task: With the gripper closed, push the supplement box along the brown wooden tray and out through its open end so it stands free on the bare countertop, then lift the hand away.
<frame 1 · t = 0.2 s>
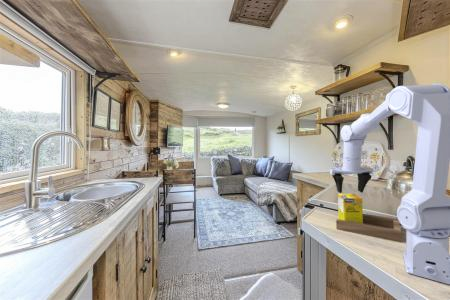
hand: (349, 191, 77), 10 cm above the counter, tool pointing down, fingers open, 7 cm apart
brown wooden tray: (369, 228, 68), on the counter
supplement box: (350, 225, 72), resting in brown wooden tray
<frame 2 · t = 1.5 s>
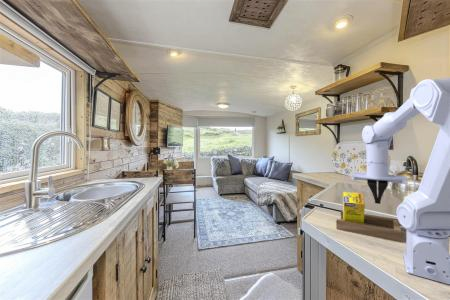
hand: (377, 202, 66), 10 cm above the counter, tool pointing down, fingers closed
supplement box: (353, 222, 72), point 1 cm above the counter, touching brown wooden tray
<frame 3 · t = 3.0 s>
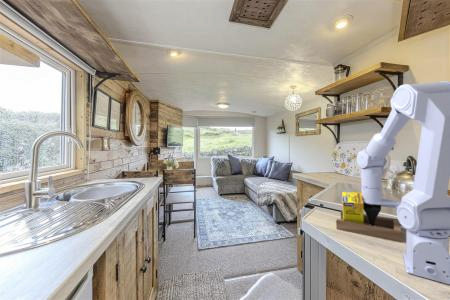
hand: (372, 225, 68), 1 cm above the counter, tool pointing down, fingers closed
supplement box: (352, 222, 72), point 1 cm above the counter, touching gripper
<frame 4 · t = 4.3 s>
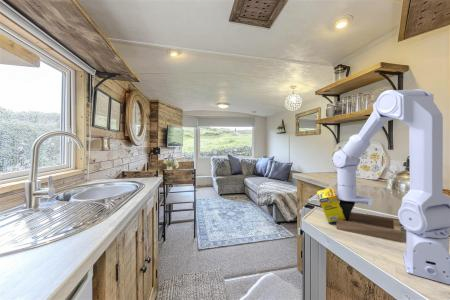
hand: (347, 221, 72), 1 cm above the counter, tool pointing down, fingers closed, pressing on supplement box
supplement box: (336, 218, 75), point 1 cm above the counter, touching gripper
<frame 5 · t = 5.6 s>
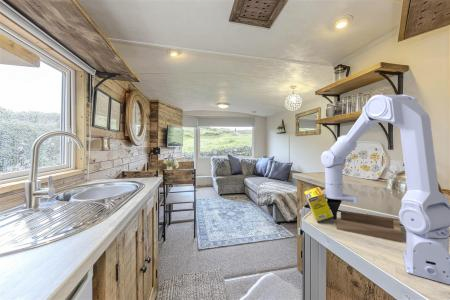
hand: (334, 218, 75), 1 cm above the counter, tool pointing down, fingers closed, pressing on supplement box
supplement box: (323, 216, 77), point 1 cm above the counter, touching gripper
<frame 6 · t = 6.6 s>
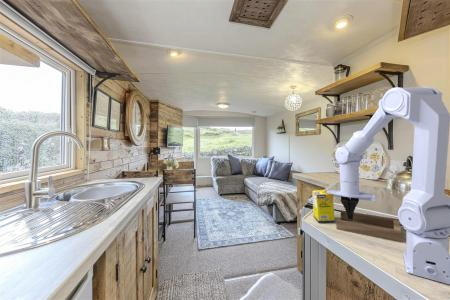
hand: (350, 218, 71), 3 cm above the counter, tool pointing down, fingers closed
supplement box: (323, 220, 78), on the counter
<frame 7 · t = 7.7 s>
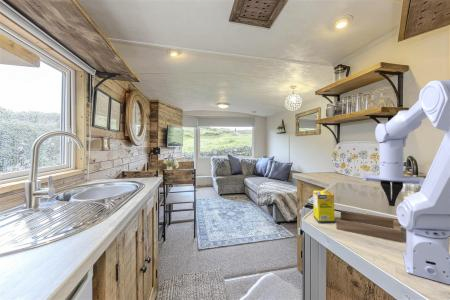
hand: (391, 205, 62), 10 cm above the counter, tool pointing down, fingers closed
nothing on the counter moved.
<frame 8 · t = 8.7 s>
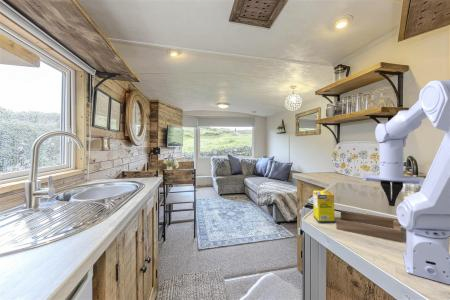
hand: (391, 205, 62), 10 cm above the counter, tool pointing down, fingers closed
nothing on the counter moved.
at the end: supplement box inside the target area (2.0 cm from its centre), on the counter; supplement box tilted 0°; supplement box touching counter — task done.
